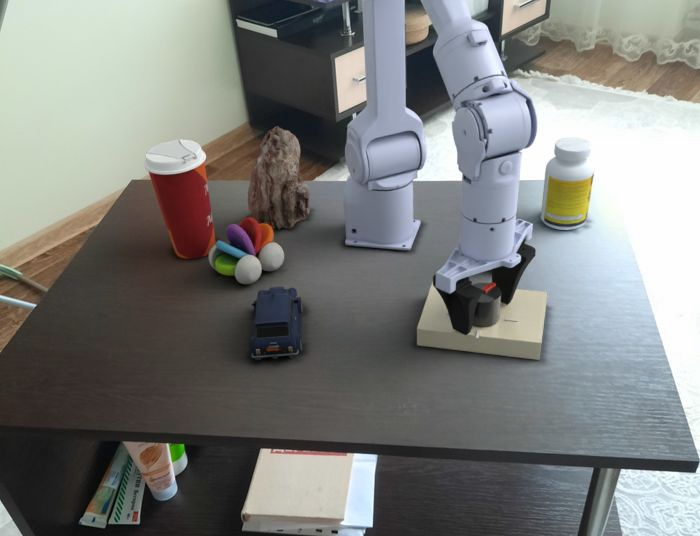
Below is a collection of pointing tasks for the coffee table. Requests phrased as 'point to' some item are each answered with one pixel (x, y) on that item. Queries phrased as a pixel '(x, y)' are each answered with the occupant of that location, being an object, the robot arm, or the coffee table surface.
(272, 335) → the toy car
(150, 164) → the coffee cup
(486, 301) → the knob
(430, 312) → the cream dial panel
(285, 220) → the stone
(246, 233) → the rainbow baby rattle
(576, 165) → the pill bottle
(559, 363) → the coffee table surface
